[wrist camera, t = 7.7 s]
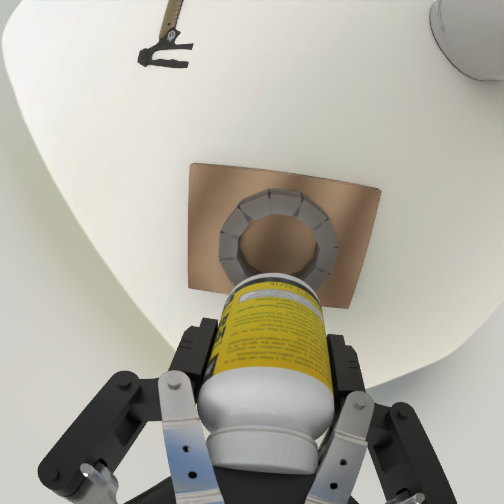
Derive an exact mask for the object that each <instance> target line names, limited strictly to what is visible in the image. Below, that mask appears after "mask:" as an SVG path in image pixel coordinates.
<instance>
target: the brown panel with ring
mask: <svg viewBox="0 0 504 504" xmlns="http://www.w3.org/2000/svg"><path fill="white" fill-rule="evenodd" d="M380 196H381V191H380V190H379V189H378V188H373V187H368V186H363V185H358V184H353V183H348V182H342V181H337V180H331V179H325V178H319V177H313V176H307V175H300V174H293V173H286V172H278V171H271V170H263V169H254V168H245V167H235V166H224V165H212V164H199V163H193V164H191V165H190V173H189V201H188V288H191V289H197V290H204V291H210V292H216V293H223V294H230V293H231V292H232V290H233V289H234V288H235V287H236V286H237V285H238V284H239V283H241V282H242V281H244V280H245V279H248V278H250V277H252V276H255V275H259V274H265V273H282V274H287V275H290V276H293V277H296V278H298V279H300V280H302V281H303V282H305V283H306V284H307V285H309V286H310V287H311V288H312V290H313V291H314V292H315V293H316V295H317V297H318V299H319V301H320V304H321V306H325V307H335V308H345V309H348V308H349V305H350V302H351V299H352V296H353V293H354V290H355V287H356V284H357V281H358V278H359V275H360V272H361V268H362V265H363V262H364V258H365V255H366V251H367V248H368V244H369V240H370V237H371V233H372V229H373V225H374V221H375V217H376V213H377V209H378V204H379V200H380Z"/></svg>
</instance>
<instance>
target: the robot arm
mask: <svg viewBox="0 0 504 504" xmlns="http://www.w3.org/2000/svg"><path fill="white" fill-rule="evenodd" d="M430 22H431V27H432V30H433V34H434V36H435V38H436V40H437V42H438V45H439V46H440V48H441V49H442V51H443V52H444V54H445V55H446V56H447V58H448V59H449V60H450V61H451V63H452V64H454V65H455V66H456V67H457V68H458V69H459V70H460V71H461V72H463V73H464V74H465V75H467V76H469V77H471V78H473V79H477V80H495V79H496V80H497V81H504V0H437V1H436V2H435V3H434V4H433V5H432V8H431V11H430ZM217 330H218V320H215V319H209V318H203V319H202V321H201V324H200V327H195V326H190V327H189V328H188V329H187V330H186V331H185V332H184V334H183V336H182V339H181V341H180V343H179V347H178V348H177V351H176V353H175V355H174V358H173V360H172V363H171V365H170V368H169V370H168V371H167V372H165V373H163V374H162V375H161V376H160V377H159V378H155V379H139V378H138V376H137V375H136V374H135V373H133V372H130V371H120V372H117V373H115V374H114V375H113V376H112V377H111V378H110V379H109V380H108V382H107V383H106V384H105V385H104V386H103V387H102V389H101V390H100V391H99V392H98V394H97V395H96V396H95V397H94V398H93V400H92V401H91V402H90V403H89V404H88V405H87V407H86V408H85V409H84V410H83V411H82V412H81V414H80V415H79V416H78V417H77V419H76V420H75V421H74V422H73V423H72V425H71V426H70V427H69V428H68V429H67V431H66V432H65V433H64V434H63V435H62V437H61V438H60V439H59V440H58V442H57V443H56V444H55V445H54V447H53V448H52V449H51V450H50V452H49V453H48V454H47V455H46V457H45V458H44V459H43V460H42V462H41V463H40V464H39V466H38V477H39V478H40V481H41V482H42V484H43V485H44V486H46V487H47V488H49V489H50V490H52V491H53V492H54V493H56V494H57V495H59V496H61V497H62V498H64V499H66V500H68V501H70V502H72V503H74V504H118V503H117V501H116V492H117V490H118V481H117V478H116V477H115V476H114V475H113V473H114V471H115V470H116V468H117V467H118V465H119V464H120V462H121V461H122V459H123V458H124V456H125V455H126V453H127V452H128V450H129V449H130V447H131V446H132V444H133V443H134V441H135V440H136V438H137V437H138V435H139V434H140V432H141V431H142V429H143V428H144V426H145V425H146V423H147V422H148V421H163V422H162V427H163V434H164V441H165V446H166V452H167V458H168V463H169V468H170V473H171V476H170V477H168V478H166V479H165V480H163V481H161V482H160V483H158V484H157V485H155V486H153V487H152V488H150V489H148V490H147V491H145V492H143V493H142V494H140V495H138V496H137V497H135V498H133V499H131V500H129V501H127V502H126V503H124V504H359V503H358V502H357V501H356V500H355V499H354V498H353V497H352V496H351V492H352V490H353V487H354V485H355V482H356V479H357V476H358V474H359V471H360V468H361V465H362V462H363V459H364V455H365V452H366V449H367V447H368V450H369V453H370V455H371V458H372V461H373V463H374V466H375V469H376V472H377V475H378V477H379V480H380V483H381V486H382V489H383V492H384V495H385V498H386V501H387V502H386V503H385V504H457V501H456V499H455V497H454V494H453V492H452V489H451V487H450V485H449V482H448V480H447V478H446V475H445V473H444V471H443V469H442V466H441V464H440V462H439V460H438V458H437V455H436V453H435V451H434V449H433V447H432V445H431V443H430V441H429V439H428V437H427V434H426V433H425V431H424V428H423V426H422V424H421V422H420V420H419V419H418V416H417V415H416V413H415V411H414V409H413V408H412V407H411V406H410V405H409V404H407V403H404V402H397V403H395V404H394V405H392V407H387V406H383V405H380V404H377V403H375V402H374V400H373V399H372V397H371V396H370V395H369V394H367V393H366V391H365V387H364V382H363V378H362V374H361V369H360V365H359V363H358V357H357V353H356V352H355V350H354V349H353V348H352V346H347V345H345V342H344V337H343V335H334V334H328V335H327V337H326V340H327V347H328V354H329V362H330V370H331V378H332V387H333V397H334V416H333V420H332V422H331V424H330V426H329V427H328V429H327V430H326V433H325V435H324V437H323V440H322V442H321V444H320V447H319V449H318V468H317V469H316V471H315V473H314V474H282V473H267V472H256V471H246V470H238V469H231V468H224V467H218V466H213V465H212V464H211V460H210V457H209V453H208V449H207V446H206V442H205V438H204V434H203V430H202V427H201V423H200V419H199V418H198V414H197V410H196V403H197V401H198V396H199V392H200V388H201V383H202V381H203V378H204V375H205V371H206V368H207V364H208V361H209V357H210V354H211V351H212V347H213V344H214V340H215V337H216V333H217Z"/></svg>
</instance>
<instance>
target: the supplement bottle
mask: <svg viewBox="0 0 504 504" xmlns="http://www.w3.org/2000/svg"><path fill="white" fill-rule="evenodd" d="M197 411H198V415H199V418H200V420H201V422H202V423H203V425H204V426H205V427H206V429H207V430H208V431H210V432H211V434H210V435H209V436H208V438H207V441H206V446H207V449H208V453H209V457H210V460H211V464H212V465H213V466H218V467H224V468H231V469H238V470H246V471H256V472H267V473H282V474H314V473H315V471H316V469H317V468H318V451H317V450H318V446H317V443H316V442H315V441H314V440H316V439H318V438H319V437H320V436H321V435H322V434H323V433H324V432H325V431H326V430H327V429H328V427H329V426H330V424H331V422H332V420H333V416H334V397H333V387H332V378H331V370H330V362H329V354H328V347H327V340H326V333H325V326H324V320H323V314H322V308H321V304H320V301H319V299H318V297H317V295H316V293H315V292H314V291H313V290H312V288H311V287H310V286H309V285H307V284H306V283H305V282H303V281H302V280H300V279H298V278H296V277H293V276H290V275H287V274H282V273H265V274H259V275H255V276H252V277H250V278H248V279H245V280H244V281H242V282H241V283H239V284H238V285H237V286H236V287H235V288H234V289H233V290H232V292H231V293H230V295H229V296H228V299H227V301H226V304H225V306H224V309H223V312H222V316H221V320H220V323H219V327H218V330H217V333H216V337H215V340H214V344H213V347H212V351H211V354H210V357H209V361H208V364H207V368H206V371H205V375H204V378H203V381H202V383H201V388H200V392H199V396H198V401H197Z"/></svg>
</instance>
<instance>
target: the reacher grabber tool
mask: <svg viewBox="0 0 504 504" xmlns="http://www.w3.org/2000/svg"><path fill="white" fill-rule="evenodd" d="M182 2H183V0H169V2H168V5H167V9H166V12H165V16H164V19H163V23H162V27H161V31H160V35H159V42H158V43H157V44H156V45H154V46H153V47H151V48H149V49H146V48H145V49H143V50H141V51H140V52H139V57H138V61H137V62H138V63H140V64H141V65H143V66H145V67H146V66H147V65H149V64H150V65H156V66H163V67H170V68H187V67H188V63H189V62H187V61H177V60H174V59H171V60H164V59H157V60H152V58H151V57H152V54H153V53H154V52H155V51H158V50H168V49H188V50H192V47H193V44H194V43H192V44H179V45H176V44H175V43H174V41H175V39H176V38H177V36H178V35H179V34H180V32H179V31H177V30H176V28H175V26H176V23H177V19H178V15H179V13H180V12H179V11H180V9H181V8H180V7H181V6H182Z"/></svg>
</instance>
